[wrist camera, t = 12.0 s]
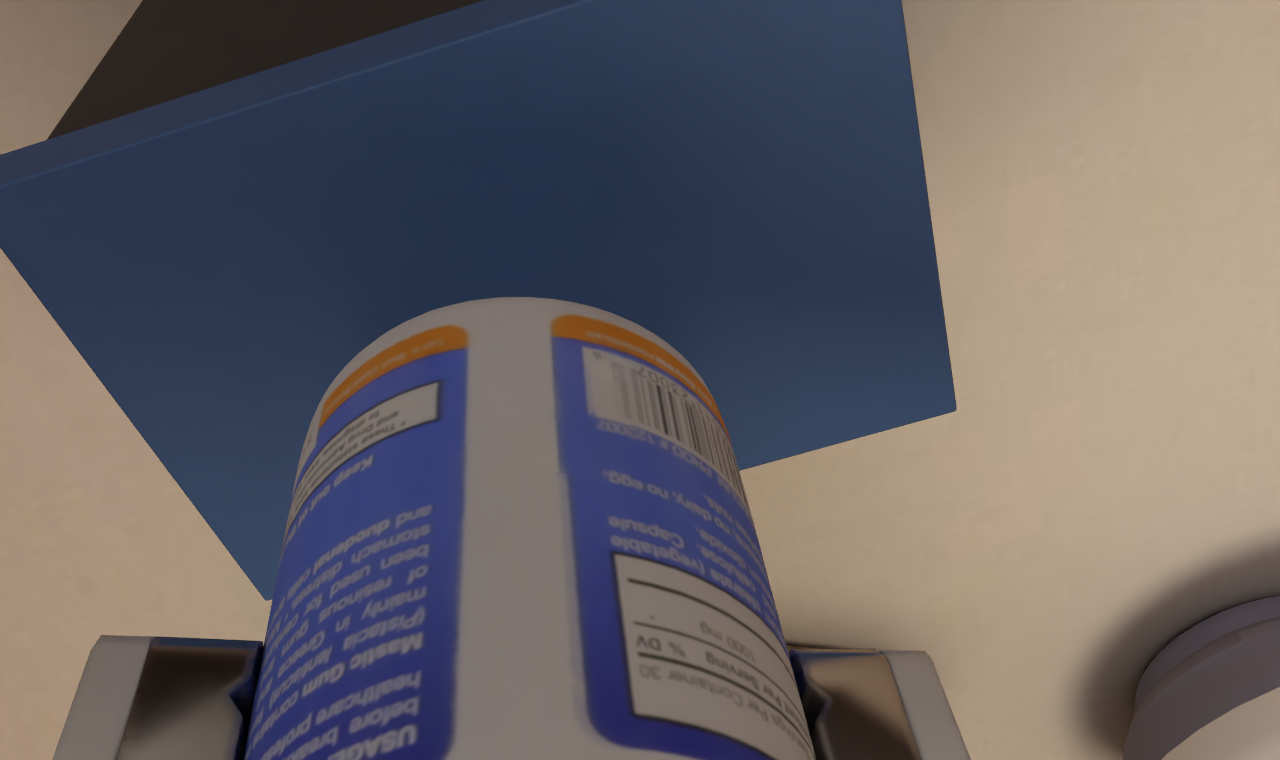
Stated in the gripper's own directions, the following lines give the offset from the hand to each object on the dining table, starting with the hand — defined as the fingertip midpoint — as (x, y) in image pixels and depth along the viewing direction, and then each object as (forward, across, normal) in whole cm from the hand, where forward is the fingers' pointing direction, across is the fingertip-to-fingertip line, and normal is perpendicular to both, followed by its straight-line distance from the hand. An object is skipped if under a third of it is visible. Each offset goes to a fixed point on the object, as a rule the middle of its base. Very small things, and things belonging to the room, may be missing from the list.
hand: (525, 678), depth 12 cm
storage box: (+18, 0, 0) cm, 18 cm away
